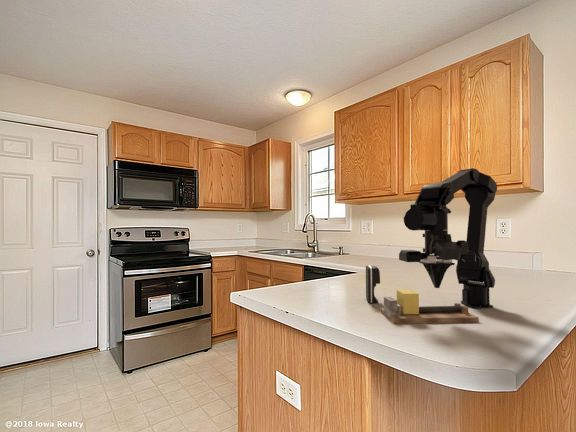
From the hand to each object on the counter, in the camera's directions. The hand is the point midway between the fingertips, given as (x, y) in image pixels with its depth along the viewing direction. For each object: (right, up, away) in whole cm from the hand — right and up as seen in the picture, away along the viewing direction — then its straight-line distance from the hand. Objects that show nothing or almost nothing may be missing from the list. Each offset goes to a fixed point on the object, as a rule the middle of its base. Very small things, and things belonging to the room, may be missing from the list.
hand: (436, 287), depth 86 cm
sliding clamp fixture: (-3, -8, 0) cm, 8 cm away
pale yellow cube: (-8, -6, 0) cm, 10 cm away
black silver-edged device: (-13, -9, +17) cm, 23 cm away
